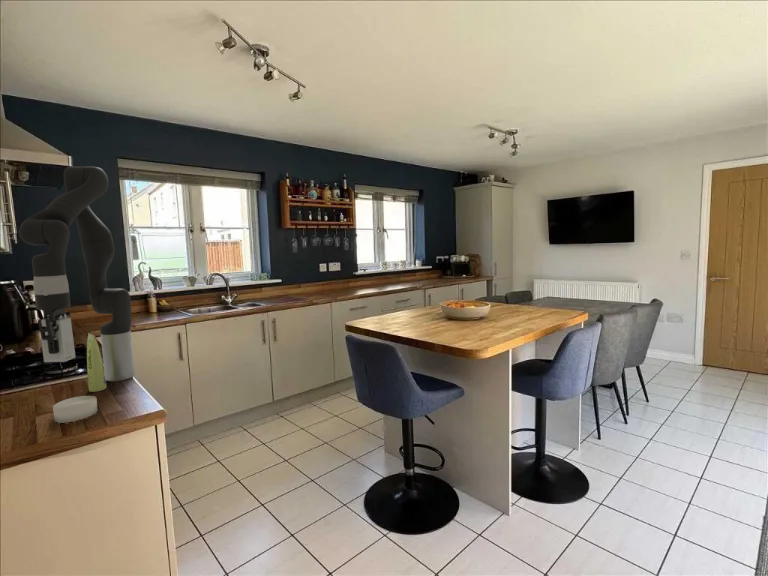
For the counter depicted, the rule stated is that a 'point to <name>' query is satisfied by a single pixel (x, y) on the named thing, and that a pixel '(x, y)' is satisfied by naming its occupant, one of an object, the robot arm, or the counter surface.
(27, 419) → the counter surface
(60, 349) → the skincare box
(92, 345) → the tube
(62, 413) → the stand
